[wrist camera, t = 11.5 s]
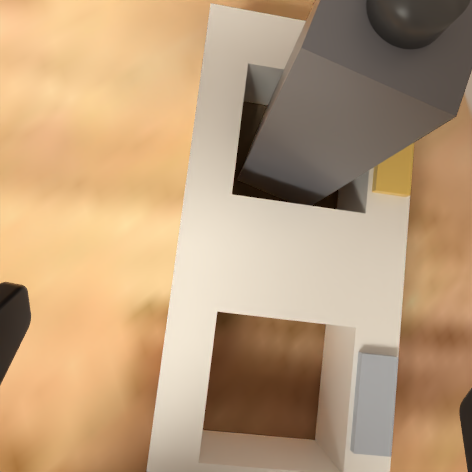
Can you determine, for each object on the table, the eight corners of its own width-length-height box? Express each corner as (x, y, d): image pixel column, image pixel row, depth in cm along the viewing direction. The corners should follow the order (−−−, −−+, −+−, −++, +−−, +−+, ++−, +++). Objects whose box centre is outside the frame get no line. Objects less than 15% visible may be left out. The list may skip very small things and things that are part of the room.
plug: (306, 209, 23) (484, 98, 9) (236, 179, 23) (313, 21, 9) (331, 142, 24) (535, -57, 10) (264, 113, 23) (375, -133, 10)
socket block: (348, 495, 22) (389, 548, 17) (147, 480, 21) (137, 532, 16) (383, 81, 24) (426, 37, 20) (206, 50, 23) (211, -3, 19)
